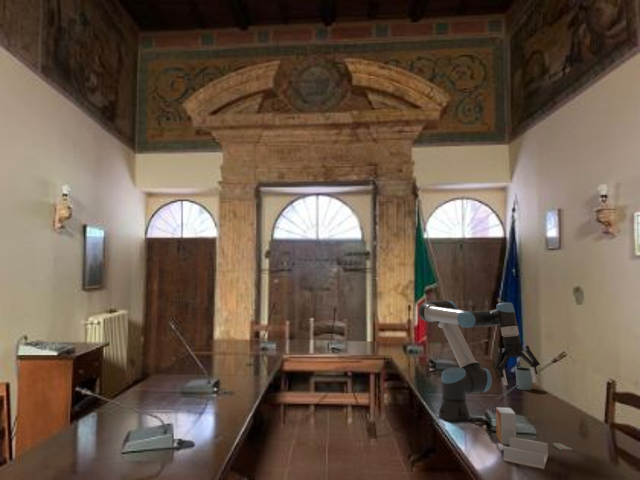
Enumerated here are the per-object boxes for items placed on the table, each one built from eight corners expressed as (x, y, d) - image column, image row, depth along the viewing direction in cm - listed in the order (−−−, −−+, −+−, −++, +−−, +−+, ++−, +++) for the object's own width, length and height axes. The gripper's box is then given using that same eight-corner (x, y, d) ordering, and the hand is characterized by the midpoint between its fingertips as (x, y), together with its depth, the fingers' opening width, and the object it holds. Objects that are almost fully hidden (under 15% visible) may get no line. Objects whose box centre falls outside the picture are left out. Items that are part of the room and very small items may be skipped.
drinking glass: (530, 386, 286) (529, 367, 287) (536, 390, 276) (535, 370, 277) (513, 386, 287) (512, 366, 288) (518, 390, 277) (518, 370, 278)
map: (557, 443, 193) (557, 441, 193) (604, 463, 174) (603, 460, 174) (549, 445, 191) (548, 443, 191) (594, 465, 172) (594, 462, 172)
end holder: (503, 460, 176) (503, 447, 176) (510, 448, 187) (509, 436, 187) (544, 468, 168) (543, 455, 169) (548, 456, 180) (547, 443, 180)
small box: (496, 437, 200) (495, 407, 201) (511, 438, 199) (510, 407, 200) (501, 444, 192) (500, 412, 193) (516, 445, 191) (515, 413, 192)
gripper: (487, 338, 208) (496, 386, 202) (540, 333, 209) (551, 381, 203) (481, 339, 215) (490, 386, 210) (533, 334, 216) (543, 381, 210)
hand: (520, 383), depth 206 cm, fingers open, 13 cm apart
